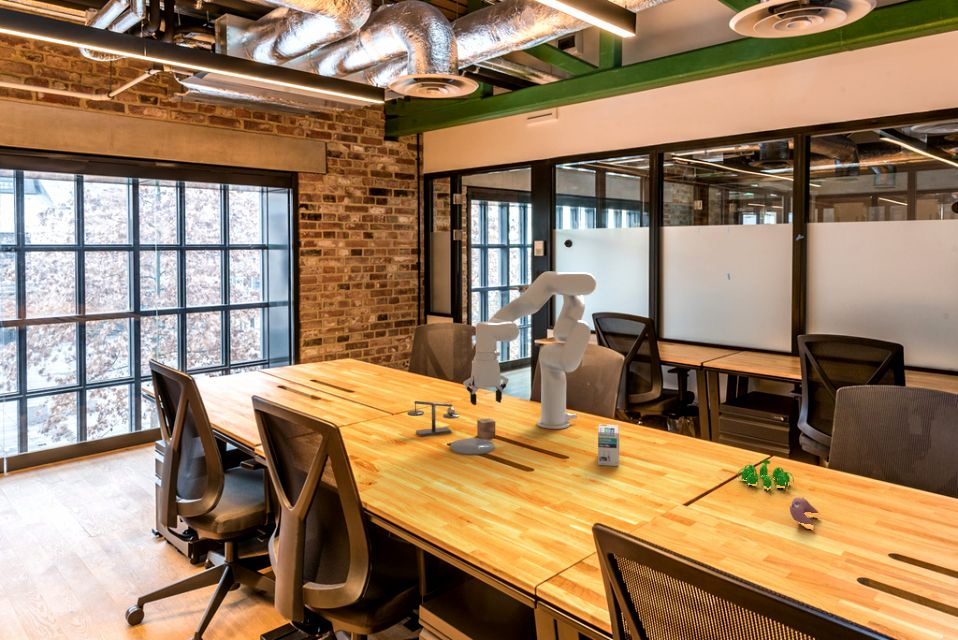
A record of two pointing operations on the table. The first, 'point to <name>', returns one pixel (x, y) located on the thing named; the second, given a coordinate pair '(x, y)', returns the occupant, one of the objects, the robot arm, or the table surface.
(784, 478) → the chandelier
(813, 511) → the purple rounded piece
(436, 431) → the balance
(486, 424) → the walnut block
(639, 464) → the table surface
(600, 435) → the light bulb box
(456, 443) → the dish
